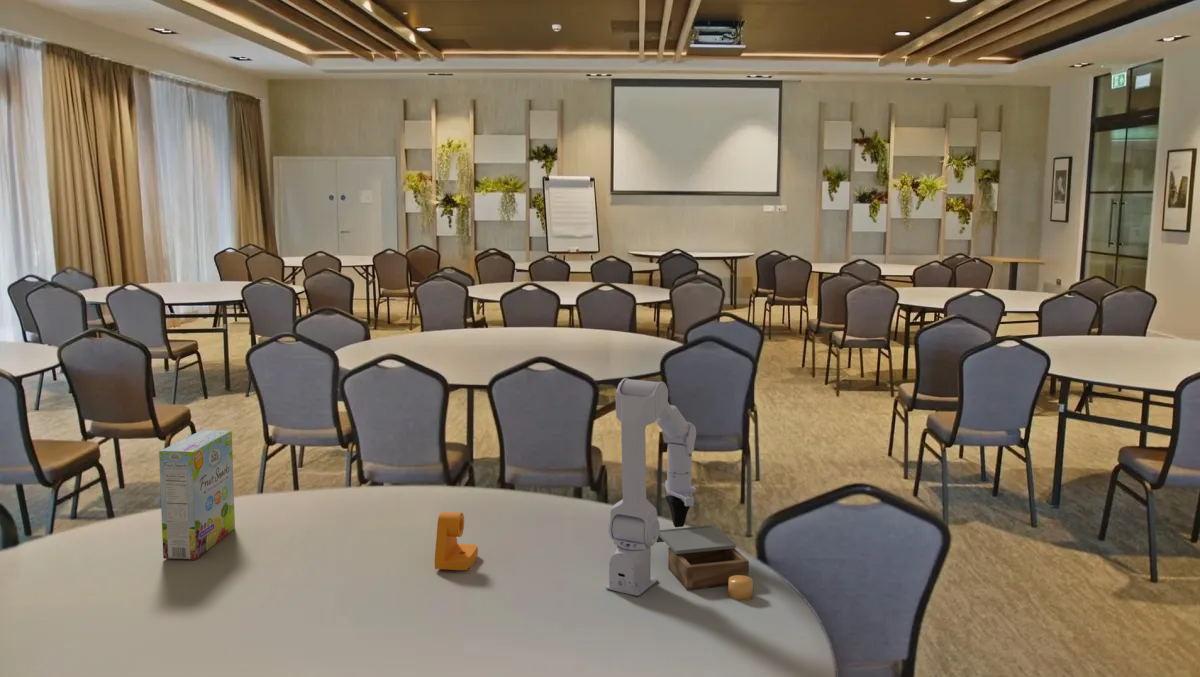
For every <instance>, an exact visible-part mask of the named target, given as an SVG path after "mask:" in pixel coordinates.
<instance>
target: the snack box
mask: <svg viewBox="0 0 1200 677" xmlns="http://www.w3.org/2000/svg"><path fill="white" fill-rule="evenodd" d="M232 433H233V432H232V431H231V430H225V429H224V430H222V429H219V430H218V429H217V430H211V429H209V430H208V429H206V430H205V429H201V430H199V431H197V432H196V433H193V434H191V435H189V436H187V437H185V438H183V439H181V440H180V441H177V442H175V443H174V444H170V445H169V446H167V447H165V448H163V449H161V450H159V453H158V460H159V482H160V483H159V484H160V485H159V486H160V487H159V489H160V504H161V505H160V506H161V507H160V508H161V510H160V511H161V513H160V514H161V537H162V558H163V560H164V559H167V560H170V559H171V560H193V561H194V560H197V559H198V558H200V557H201V556H202V555H203V554H205V553H206V552H207V551H208V550H210V549H211V548H212V547H213V546H215V545H216V544H217V543H219V542H220V541H221V540H222V539H224V538H225V537H226V536H228V535H229V534H230V533H232V532H233V531H234V529H236V523H235V522H236V521H235V520H236V519H235V518H236V517H235V515H236V514H235V496H234V494H235V493H234V491H235V488H234V463H233V462H234V459H233V437H232V435H233V434H232Z"/></svg>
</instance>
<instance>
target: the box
mask: <svg viewBox="0 0 1200 677" xmlns="http://www.w3.org/2000/svg"><path fill="white" fill-rule="evenodd" d="M667 560H668V565H667V567H668V570H669V571H670V573H672V575H673V576H674V577H675V578H676V579H677V580H678V581H679V583H680V584H681V585H682V587H683V588H684V589H685V590H686V591H691V590H692V591H693V590H700V589H709V588H718V587H720V588H721V587H726V586H727V587H728V582H729V577H731V576H735V575H743V576H748V577H749V571H750V570H749V569H750V567H749V566H750V563H749V562H750V561H749V559H747V558H746V557H745V556H744V555H743V554H742V553H740V552H739V551H738V550H737V548H733V549H723V550H713V551H703V552H694V553H684V554H675V552H674V551H673V550H672V549H671V548H670V547H669V546H668V559H667Z"/></svg>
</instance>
